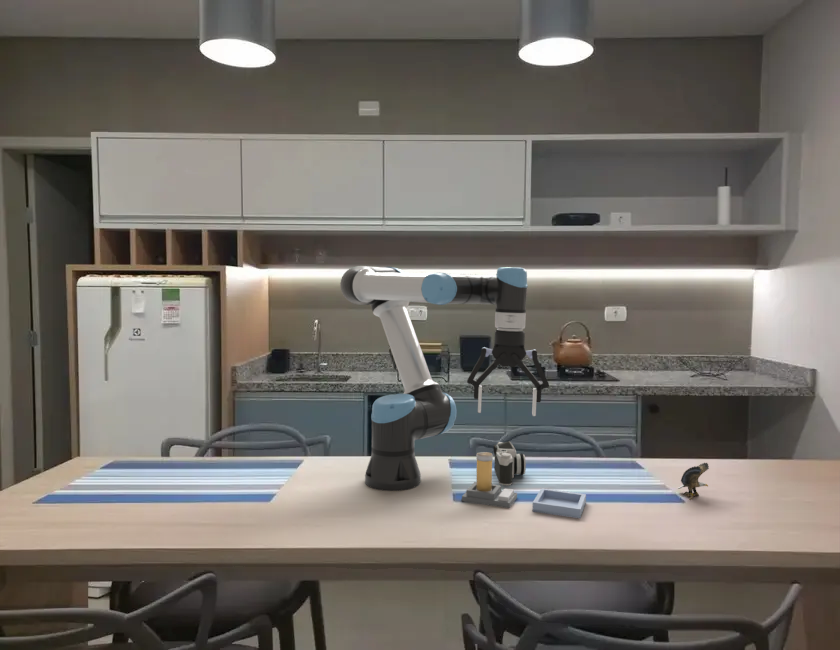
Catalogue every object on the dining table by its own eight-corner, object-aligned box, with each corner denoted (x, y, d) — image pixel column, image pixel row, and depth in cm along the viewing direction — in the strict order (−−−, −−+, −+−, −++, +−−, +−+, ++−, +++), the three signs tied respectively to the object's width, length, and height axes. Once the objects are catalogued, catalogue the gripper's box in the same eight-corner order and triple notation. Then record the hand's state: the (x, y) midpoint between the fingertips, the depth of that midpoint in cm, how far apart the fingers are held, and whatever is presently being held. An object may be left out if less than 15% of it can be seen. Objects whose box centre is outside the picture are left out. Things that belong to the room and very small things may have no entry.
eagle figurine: (707, 503, 146) (708, 468, 145) (675, 498, 149) (677, 463, 149) (708, 494, 152) (709, 460, 152) (678, 489, 156) (679, 456, 155)
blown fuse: (473, 495, 146) (474, 455, 145) (478, 490, 150) (479, 451, 149) (489, 497, 144) (490, 457, 144) (493, 492, 148) (494, 453, 147)
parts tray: (532, 512, 138) (532, 502, 138) (541, 497, 149) (541, 488, 148) (580, 520, 134) (580, 509, 134) (585, 504, 144) (586, 494, 144)
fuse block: (461, 502, 145) (461, 490, 145) (471, 492, 152) (471, 480, 152) (509, 509, 140) (509, 497, 140) (516, 498, 148) (517, 486, 148)
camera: (529, 487, 157) (530, 450, 157) (497, 486, 157) (497, 449, 157) (520, 469, 173) (521, 435, 173) (491, 468, 173) (491, 435, 173)
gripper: (458, 328, 144) (456, 413, 146) (562, 332, 141) (558, 419, 143) (460, 326, 152) (458, 407, 153) (559, 330, 148) (555, 412, 150)
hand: (506, 413), depth 148 cm, fingers open, 13 cm apart
